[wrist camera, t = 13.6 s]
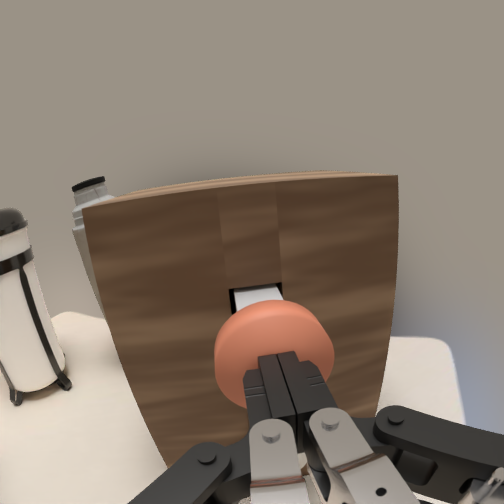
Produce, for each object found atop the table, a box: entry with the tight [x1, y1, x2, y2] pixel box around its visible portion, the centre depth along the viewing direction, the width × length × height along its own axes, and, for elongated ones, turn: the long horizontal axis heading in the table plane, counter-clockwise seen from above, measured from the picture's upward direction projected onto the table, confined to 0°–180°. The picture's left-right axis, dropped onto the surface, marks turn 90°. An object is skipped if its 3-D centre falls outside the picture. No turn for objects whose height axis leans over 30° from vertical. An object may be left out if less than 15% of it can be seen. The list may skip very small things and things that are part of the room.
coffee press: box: [0, 208, 72, 405], centre depth 34 cm, size 17×16×30 cm
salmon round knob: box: [214, 283, 334, 408], centre depth 18 cm, size 14×5×5 cm, turn 7°
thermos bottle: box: [72, 176, 115, 324], centre depth 41 cm, size 8×8×28 cm
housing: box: [81, 170, 399, 476], centre depth 26 cm, size 14×18×26 cm
